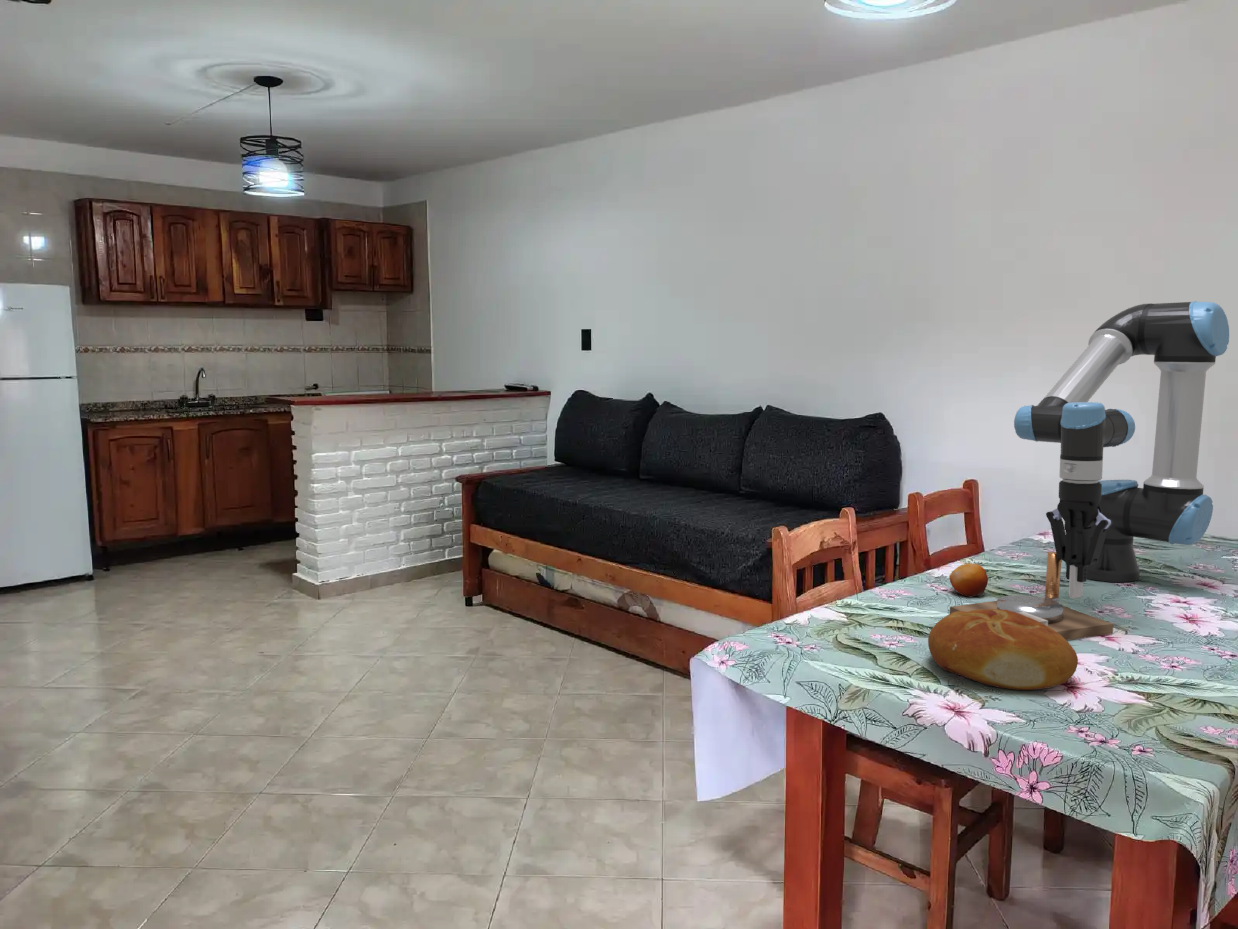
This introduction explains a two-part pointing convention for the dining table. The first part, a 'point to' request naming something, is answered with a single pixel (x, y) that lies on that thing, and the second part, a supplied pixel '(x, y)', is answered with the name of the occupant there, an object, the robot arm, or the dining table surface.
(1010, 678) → the bread
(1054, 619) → the cam disc
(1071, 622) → the board
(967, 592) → the fruit
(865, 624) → the dining table surface
